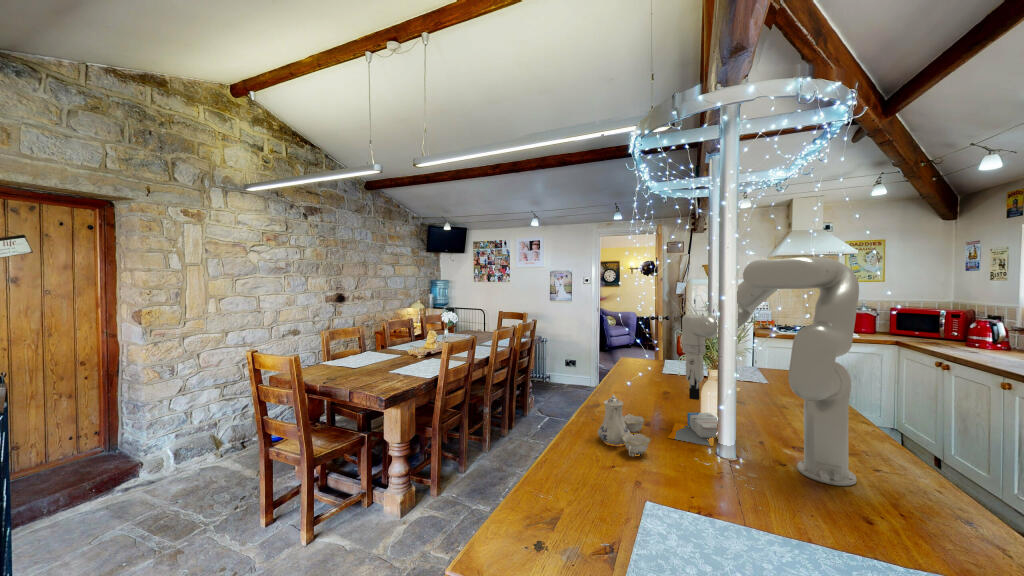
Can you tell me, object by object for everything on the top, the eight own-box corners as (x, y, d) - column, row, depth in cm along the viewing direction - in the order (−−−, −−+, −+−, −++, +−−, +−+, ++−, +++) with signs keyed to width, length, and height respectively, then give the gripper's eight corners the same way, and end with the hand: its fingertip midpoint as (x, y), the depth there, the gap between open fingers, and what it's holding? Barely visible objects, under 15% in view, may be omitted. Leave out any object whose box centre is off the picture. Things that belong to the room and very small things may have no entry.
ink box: (687, 425, 143) (702, 441, 128) (687, 412, 143) (702, 426, 128) (711, 425, 142) (729, 442, 127) (711, 412, 142) (729, 427, 127)
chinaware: (656, 468, 115) (662, 413, 114) (600, 460, 117) (605, 406, 117) (639, 432, 143) (643, 387, 142) (594, 425, 145) (598, 382, 145)
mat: (713, 447, 125) (713, 446, 125) (667, 438, 132) (667, 437, 132) (716, 429, 139) (716, 429, 139) (675, 423, 146) (675, 422, 146)
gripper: (702, 353, 131) (703, 406, 132) (707, 346, 144) (708, 394, 144) (679, 351, 135) (680, 403, 136) (685, 344, 148) (686, 392, 148)
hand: (694, 398), depth 140 cm, fingers closed
